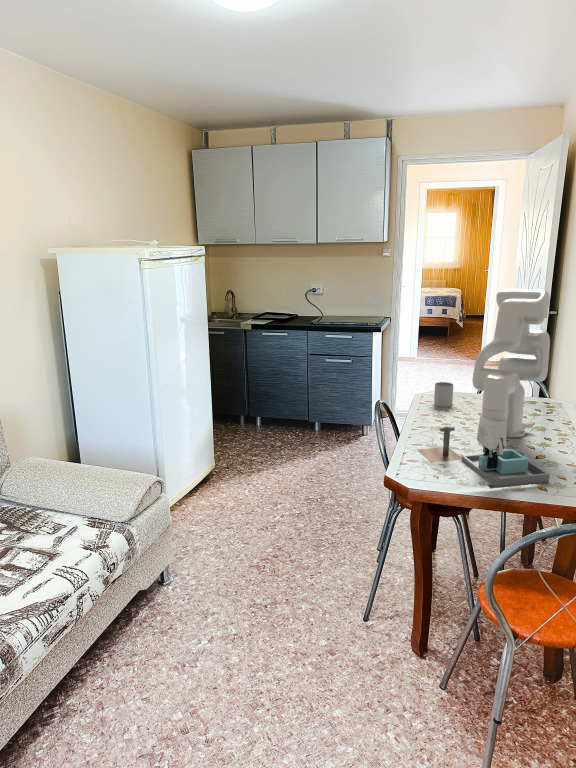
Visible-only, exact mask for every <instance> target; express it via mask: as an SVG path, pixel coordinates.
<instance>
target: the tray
mask: <svg viewBox="0 0 576 768" xmlns="http://www.w3.org/2000/svg"><path fill="white" fill-rule="evenodd" d="M484 454H485V453H478V454H467V455H461V458H462V460H461V461H463V462H464V463H465V464H466V465H468V466H469V467H470V468H471V469H472V470H474V471H475V472H476V473H477V474H478V475H479V476H481V477H482V478H484V479H485V480H486V482H488V483H490V484H487V486H488V487H489V488H490V489H498V488H500V489H501V488H509V487H519V486H530V485H529V484H531V485H538V484H539V483H542V484H549V483H550V477H551V476H550V475H551V474H550V473H549V472H547V471H546V470H544V469H543V468H541V467H540V466H538V465H536V464H535V463H534V462H532V461H530V460H529V459H528V469H527V473H529V474H524V475H522V474H521V475H514V476H513V475H511V476H503V477H500V476H499V477H493V476H492V475H490V474H488V472H487V471H483V470H482V469H481V468H479V467H478V466H479V465H477V464H476V463H474V462H473V461H475V460H477V461H479V456H483V455H484Z"/></svg>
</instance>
